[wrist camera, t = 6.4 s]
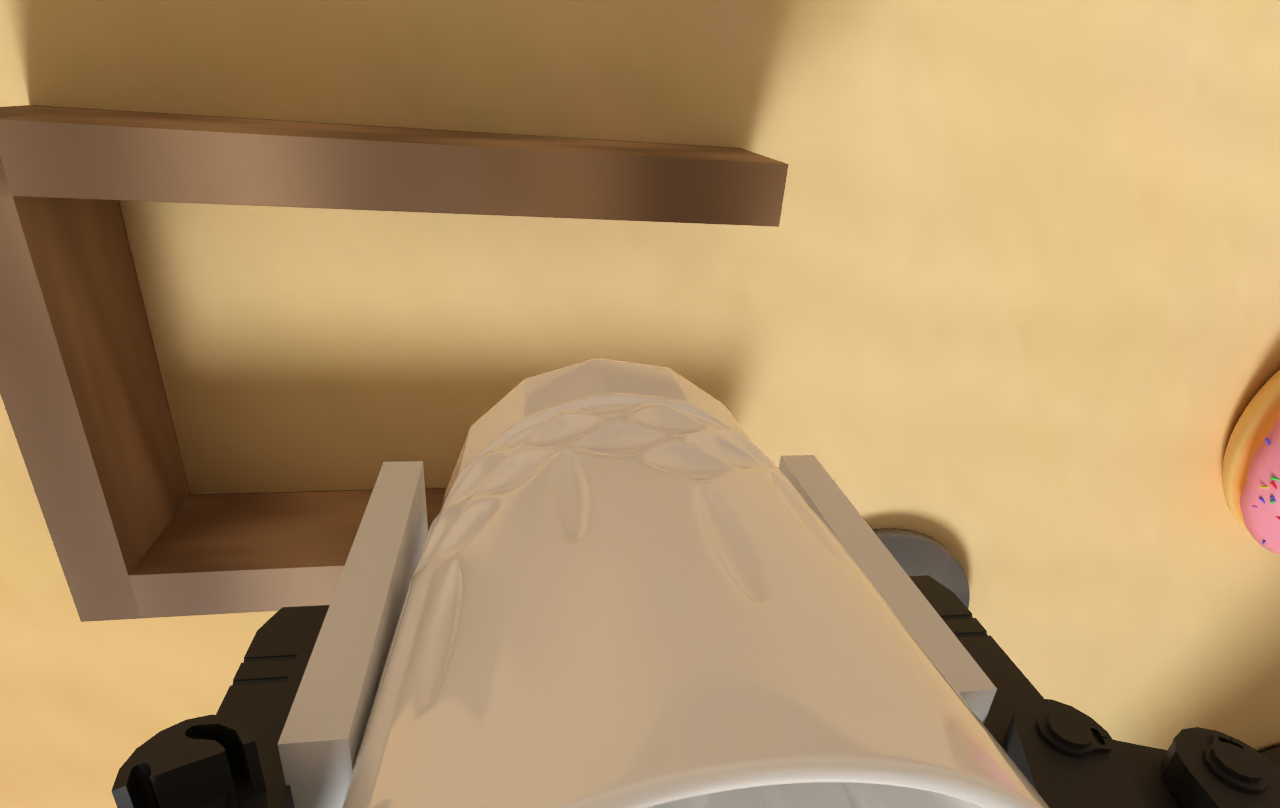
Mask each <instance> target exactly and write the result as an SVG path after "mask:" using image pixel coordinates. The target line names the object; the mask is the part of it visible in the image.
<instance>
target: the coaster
mask: <svg viewBox="0 0 1280 808" xmlns="http://www.w3.org/2000/svg"><path fill="white" fill-rule="evenodd" d="M873 531H874V533H875V534H876V535H877V537H878V538H879V539H880V540H881V542H882V543H883V544H884V545H885V547H886V548H887V549H888V551H889V552H890V553H891V554H892V556H893V557H894V558H895V559H896V561H897V562H898V563H899V565H900V566H901V567H902V568H903V570H904V571H905V572H906V573H907V575H908V576H923V575H929V576H930V577H932V578H933V579H935V580H936V581H938V582H939V583H941V584H942V585H943V586H945V587H946V588H948V589H949V590H951V591H952V592H954V593H955V594H956V596H957V597H958V598H959V599H960V600H961V602H962V603H963V604H964V605H965V606H966V607H967V609H968V606H969V586H968V581H967V577H966V575H965V573H964V571H963V569H962V567H961V566H960V564H959V563H958V561H957V560H956V559H955V558H954V557H953V556H952V555H951V554H950V552H949V551H948V550H947V549H946V548H945V547H944V546H943V545H941V544H940V543H938V542H937V541H936V540H934V539H932V538H930V537H928V536H926V535H924V534H921V533H917V532H914V531H909V530H902V529H879V530H873Z"/></svg>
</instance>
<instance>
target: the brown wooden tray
mask: <svg viewBox="0 0 1280 808" xmlns="http://www.w3.org/2000/svg"><path fill="white" fill-rule="evenodd" d="M787 169H788V164H786V163H783V162H780V161H777V160H774V159H771V158H768V157H765V156H762V155H759V154H756V153H753V152H750V151H747V150H744V149H741V148H727V147H710V146H694V145H677V144H661V143H644V142H627V141H611V140H594V139H578V138H561V137H544V136H528V135H511V134H495V133H478V132H461V131H445V130H428V129H412V128H395V127H379V126H362V125H345V124H329V123H312V122H296V121H279V120H262V119H246V118H229V117H213V116H196V115H180V114H163V113H146V112H130V111H113V110H97V109H80V108H63V107H47V106H30V105H26V106H12V107H0V394H1V397H2V399H3V402H4V405H5V408H6V411H7V414H8V416H9V419H10V422H11V425H12V428H13V430H14V433H15V436H16V439H17V442H18V445H19V447H20V450H21V453H22V456H23V459H24V462H25V464H26V467H27V470H28V473H29V476H30V478H31V481H32V484H33V487H34V490H35V493H36V495H37V498H38V501H39V504H40V507H41V510H42V512H43V515H44V518H45V521H46V524H47V526H48V529H49V532H50V535H51V538H52V541H53V543H54V546H55V549H56V552H57V555H58V557H59V560H60V563H61V566H62V569H63V572H64V574H65V577H66V580H67V583H68V586H69V589H70V591H71V594H72V597H73V600H74V603H75V605H76V608H77V611H78V614H79V617H80V620H81V622H83V621H101V620H119V619H136V618H154V617H172V616H190V615H208V614H226V613H244V612H262V611H279V610H280V609H281V608H282V607H297V606H318V605H330V603H331V601H332V598H333V595H334V593H335V590H336V587H337V585H338V582H339V579H340V577H341V574H342V571H343V569H344V566H345V563H346V561H347V558H348V555H349V553H350V550H351V547H352V545H353V542H354V539H355V537H356V534H357V531H358V529H359V526H360V523H361V521H362V518H363V515H364V513H365V510H366V507H367V505H368V502H369V499H370V497H371V494H372V491H373V490H359V491H324V492H288V493H252V494H217V495H190V494H189V490H188V486H187V481H186V477H185V473H184V469H183V465H182V461H181V457H180V453H179V449H178V445H177V440H176V436H175V432H174V428H173V424H172V420H171V416H170V412H169V408H168V404H167V399H166V395H165V391H164V387H163V383H162V379H161V375H160V371H159V367H158V362H157V358H156V354H155V350H154V346H153V342H152V338H151V334H150V330H149V326H148V321H147V317H146V313H145V309H144V305H143V301H142V297H141V293H140V289H139V284H138V280H137V276H136V272H135V268H134V264H133V260H132V256H131V252H130V248H129V243H128V239H127V235H126V231H125V227H124V223H123V219H122V215H121V211H120V207H119V202H118V200H128V201H153V202H178V203H203V204H228V205H253V206H278V207H303V208H329V209H354V210H379V211H404V212H429V213H454V214H479V215H504V216H529V217H554V218H579V219H604V220H629V221H654V222H680V223H705V224H730V225H755V226H779V222H780V215H781V209H782V202H783V196H784V189H785V182H786V176H787ZM446 489H447V488H431V489H425V494H426V508H427V522H428V531H429V528H430V526H431V524H432V522H433V520H434V519H435V518H436V517H437V516H438V515H439V513H440V511H441V507H442V503H443V500H444V496H445V492H446Z"/></svg>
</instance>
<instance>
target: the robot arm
mask: <svg viewBox="0 0 1280 808" xmlns="http://www.w3.org/2000/svg"><path fill="white" fill-rule="evenodd" d="M779 469H780V470H781V472H782V473H783V474H784V475H785V476H786V477H787V478H788V479H789V481H790V482H791V483H792V484H793V486H794V487H795V488H796V490H797V491H798V492H799V493H800V495H801V496H802V497H803V499H804V500H805V501H806V503H807V504H808V505H809V507H810V508H811V509H812V510H813V511H814V512H815V513H816V514H817V515H818V516H819V517H820V518H821V519H822V521H823V522H824V523H825V524H826V525H827V526H828V527H829V529H830V530H831V531H832V532H833V533H834V535H835V536H836V537H837V538H838V539H839V541H840V542H841V543H842V544H843V546H844V547H845V548H846V549H847V551H848V552H849V553H850V554H851V556H852V557H853V558H854V559H855V561H856V562H857V563H858V564H859V566H860V567H861V568H862V570H863V571H864V572H865V573H866V575H867V576H868V577H869V579H870V580H871V581H872V582H873V584H874V585H875V586H876V588H877V589H878V590H879V591H880V593H881V594H882V595H883V596H884V598H885V599H886V600H887V602H888V603H889V604H890V605H891V607H892V608H893V609H894V610H895V612H896V613H897V614H898V616H899V617H900V618H901V619H902V621H903V622H904V623H905V625H906V626H907V627H908V628H909V630H910V631H911V632H912V633H913V635H914V636H915V637H916V639H917V640H918V641H919V642H920V644H921V645H922V646H923V648H924V649H925V650H926V651H927V653H928V654H929V655H930V656H931V658H932V659H933V660H934V662H935V663H936V664H937V665H938V667H939V668H940V669H941V670H942V672H943V673H944V674H945V676H946V677H947V678H948V679H949V681H950V682H951V683H952V684H953V686H954V687H955V688H956V690H957V691H958V692H959V693H960V695H961V696H962V697H963V698H964V700H965V701H966V702H967V704H968V705H969V706H970V707H971V709H972V710H973V711H974V712H975V714H976V715H977V716H978V717H979V719H980V720H981V721H982V723H983V724H984V725H985V726H986V728H987V729H988V730H989V731H990V733H991V734H992V735H993V736H994V738H995V739H996V740H997V741H998V743H999V744H1000V745H1001V747H1002V748H1003V749H1004V750H1005V752H1006V753H1007V754H1008V755H1009V757H1010V758H1011V759H1012V760H1013V762H1014V763H1015V764H1016V765H1017V767H1018V768H1019V769H1020V771H1021V772H1022V773H1023V774H1024V776H1025V777H1026V778H1027V779H1028V781H1029V782H1030V783H1031V784H1032V786H1033V787H1034V788H1035V789H1036V791H1037V792H1038V793H1039V794H1040V796H1041V797H1042V798H1043V800H1044V801H1045V802H1046V803H1047V805H1048V806H1049V807H1050V808H1280V746H1279V747H1276V748H1273V749H1270V750H1267V751H1264V752H1261V753H1259V752H1258V751H1256V750H1255V749H1253V748H1251V747H1250V746H1248V745H1246V744H1245V743H1243V742H1241V741H1240V740H1238V739H1235V738H1233V737H1230V736H1228V735H1225V734H1223V733H1220V732H1218V731H1214V730H1209V729H1203V728H1198V727H1196V728H1189V729H1182V730H1181V732H1180V733H1179V734H1178V735H1177V736H1176V737H1175V738H1174V740H1173V742H1172V744H1171V746H1170V748H1169V749H1168V751H1166V750H1161V749H1156V748H1151V747H1146V746H1141V745H1136V744H1131V743H1126V742H1121V741H1116V740H1113V739H1112V738H1111V737H1110V735H1109V734H1108V732H1107V731H1106V730H1104V729H1103V728H1102V727H1101V726H1100V725H1099V724H1098V723H1097V722H1095V721H1094V720H1093V719H1092V718H1091V717H1089V716H1087V715H1086V714H1084V713H1082V712H1080V711H1079V710H1077V709H1075V708H1073V707H1072V706H1069V705H1066V704H1063V703H1060V702H1057V701H1054V700H1049V699H1044V698H1043V697H1042V696H1041V695H1040V693H1039V692H1038V691H1037V690H1036V689H1035V688H1034V686H1033V685H1032V684H1031V683H1030V682H1029V681H1028V679H1027V678H1026V677H1025V676H1024V675H1023V673H1022V672H1021V671H1020V670H1019V669H1018V668H1017V666H1016V665H1015V664H1014V663H1013V662H1012V660H1011V659H1010V658H1009V657H1008V656H1007V655H1006V653H1005V652H1004V651H1003V650H1002V649H1001V648H1000V646H999V645H998V644H997V643H996V642H995V640H994V639H993V638H992V637H991V636H988V635H987V633H986V632H987V631H986V630H985V629H984V627H983V626H982V625H981V624H980V623H979V622H978V620H977V619H976V618H972V613H971V612H970V611H969V610H968V609H967V607H966V606H965V605H964V604H963V603H962V602H961V600H960V599H959V598H958V597H957V596H956V594H955V593H954V592H952V591H951V590H949V589H948V588H946V587H945V586H943V585H942V584H941V583H939V582H938V581H936V580H935V579H933V578H932V577H930V576H929V575H923V576H908V575H907V573H906V572H905V571H904V570H903V568H902V567H901V566H900V565H899V563H898V562H897V561H896V559H895V558H894V557H893V556H892V554H891V553H890V552H889V551H888V549H887V548H886V547H885V545H884V544H883V543H882V542H881V540H880V539H879V538H878V537H877V535H876V534H875V533H874V531H873V530H872V529H871V528H870V526H869V525H868V524H867V523H866V521H865V520H864V519H863V517H862V516H861V515H860V514H859V512H858V511H857V510H856V508H855V507H854V506H853V505H852V503H851V502H850V501H849V500H848V498H847V497H846V496H845V494H844V493H843V492H842V491H841V489H840V488H839V487H838V486H837V484H836V483H835V482H834V480H833V479H832V478H831V477H830V475H829V474H828V473H827V472H826V470H825V469H824V468H823V466H822V465H821V464H820V463H819V461H818V460H817V459H816V457H815V456H814V455H805V456H781V459H780V465H779ZM427 534H428V522H427V508H426V494H425V480H424V466H423V461H398V462H383V465H382V467H381V470H380V473H379V475H378V478H377V481H376V483H375V486H374V489H373V491H372V494H371V497H370V499H369V502H368V505H367V507H366V510H365V513H364V515H363V518H362V521H361V523H360V526H359V529H358V531H357V534H356V537H355V539H354V542H353V545H352V547H351V550H350V553H349V555H348V558H347V561H346V563H345V566H344V569H343V571H342V574H341V577H340V579H339V582H338V585H337V587H336V590H335V593H334V595H333V598H332V601H331V603H330V605H318V606H297V607H282V608H281V609H280V610H279V611H278V612H277V613H276V614H275V615H274V616H273V617H271V618H270V619H269V620H268V621H267V622H266V623H265V624H264V625H263V626H262V627H261V628H260V629H259V630H258V631H257V632H256V634H255V637H254V639H253V641H252V643H251V645H250V647H249V649H248V651H247V653H246V655H245V657H244V663H241V665H240V667H239V669H238V671H237V673H236V675H235V677H234V679H233V685H232V686H230V687H229V689H228V691H227V694H226V696H225V698H224V700H223V702H222V704H221V706H220V708H219V710H218V712H217V714H216V715H208V716H203V717H198V718H193V719H188V720H185V721H183V722H180V723H178V724H176V725H174V726H171V727H169V728H167V729H165V730H163V731H160V732H159V733H158V734H156V735H155V736H153V737H152V738H151V739H149V740H148V741H147V742H145V743H144V744H142V745H141V746H140V747H138V748H137V749H136V750H135V751H134V753H133V754H132V755H131V756H130V757H129V758H128V760H127V761H126V762H125V763H124V764H123V766H122V767H121V768H120V769H119V772H118V774H117V777H116V780H115V783H114V786H113V788H112V793H113V796H114V799H115V802H116V804H117V807H118V808H342V805H343V801H344V798H345V795H346V792H347V788H348V785H349V782H350V778H351V775H352V772H353V768H354V765H355V762H356V758H357V755H358V752H359V748H360V745H361V742H362V738H363V735H364V732H365V728H366V725H367V722H368V718H369V715H370V712H371V709H372V705H373V702H374V699H375V695H376V692H377V689H378V685H379V682H380V679H381V675H382V672H383V669H384V665H385V662H386V659H387V655H388V652H389V649H390V645H391V642H392V639H393V636H394V632H395V629H396V626H397V623H398V620H399V616H400V613H401V610H402V607H403V604H404V601H405V598H406V594H407V591H408V588H409V584H410V580H411V578H412V576H413V574H414V572H415V570H416V568H417V565H418V563H419V560H420V556H421V553H422V549H423V546H424V543H425V540H426V537H427Z"/></svg>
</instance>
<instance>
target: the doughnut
mask: <svg viewBox="0 0 1280 808" xmlns="http://www.w3.org/2000/svg"><path fill="white" fill-rule="evenodd" d="M1222 484H1223V491H1224V495H1225V499H1226V502H1227V504H1228V507H1229V509H1230V511H1231V513H1232V514H1233V516H1234V517H1235V519H1236V520H1237V521H1238V522H1239V523H1240V524H1241V525H1242V526H1243V527H1244V528H1245V529H1246V530H1248V531H1249V532H1250V534H1251V535H1252V536H1253V537H1254V538H1255V540H1256V541H1257V542H1258V543H1259V544H1260V545H1261V546H1263V547H1265V548H1266V549H1268V550H1270V551H1273V552H1275V553H1278V554H1280V369H1279V370H1278V371H1277V372H1276V373H1275V374H1274V375H1273V376H1272V377H1271V378H1270V379H1269V380H1268V381H1267V382H1266V383H1265V384H1264V385H1263V386H1262V388H1261V389H1260V390H1259V391H1258V392H1257V393H1256V395H1255V396H1254V397H1253V399H1252V400H1251V401H1250V403H1249V404H1248V405H1247V407H1246V408H1245V410H1244V411H1243V413H1242V415H1241V416H1240V418H1239V420H1238V422H1237V424H1236V426H1235V428H1234V430H1233V432H1232V434H1231V436H1230V439H1229V442H1228V445H1227V448H1226V451H1225V456H1224V460H1223V468H1222Z"/></svg>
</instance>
